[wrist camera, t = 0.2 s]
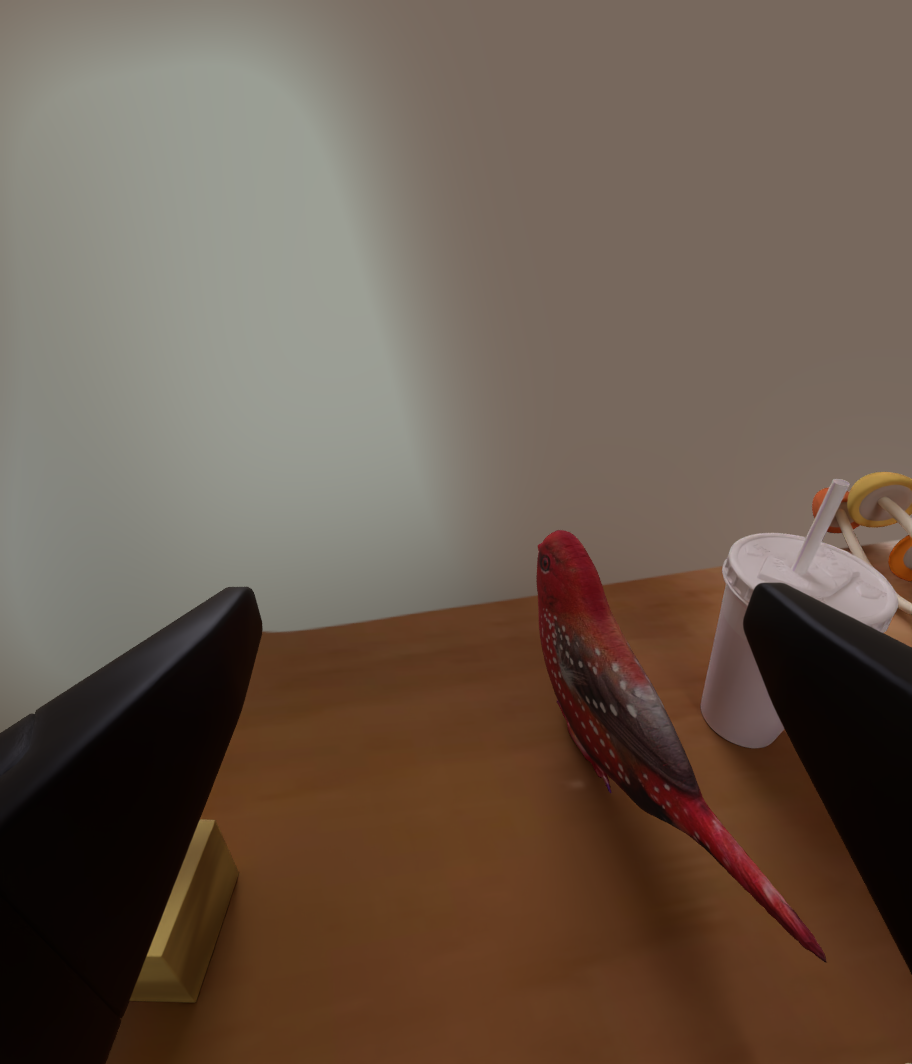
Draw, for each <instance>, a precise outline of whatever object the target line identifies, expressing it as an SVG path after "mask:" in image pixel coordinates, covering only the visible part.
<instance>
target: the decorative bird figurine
mask: <svg viewBox="0 0 912 1064" xmlns="http://www.w3.org/2000/svg"><path fill="white" fill-rule="evenodd" d="M538 550H539V553H538V561H537V591H538V607H539V630H540V639H541V644H542V650H543V654H544V659H545V663H546V667H547V671H548V674H549V677H550V680H551V683H552V686H553V689H554V692H555V694H556V697H557V699H558V701H557V703H558V705H559V707H560V709H561V711H562V713H563V716H564V717H565V719H566V721H567V726H568V731H569V733H570V735H571V737H572V739H573V740H574V742H575V743H576V745H577V746H578V747H579V749H580V750H581V752H582V754H583V756H584V757H585V759H586V760H588V761H589V762H590V763H591V764H592V766H593V768H594V770H595V772H596V773H597V775H598V777H600V778H602V777H603V780H604V781H605V784H606V786H607V788H608V791H609V792H610V793H611V790H610V785H609V780H608V777H607V775H608V776H609V777H610V778H611V779H612V780H613V781H615V782H616V783H617V784H618V785H619V787H620V788H621V789H622V790H623V791H624V792H625V793H626V794H627V795H628V796H629V797H630V798H631V799H632V800H633V801H634V802H635V803H636V804H637V805H638V806H639V807H640V808H641V809H643V810H644V811H645V812H647V813H649V814H651V815H653V816H655V817H657V818H659V819H660V820H663V821H665V822H667V823H669V824H671V825H672V826H674V827H676V828H677V829H679V830H681V831H683V832H684V833H686V834H687V835H689V836H690V837H691V838H692V839H694V840H695V841H696V842H697V843H699V844H700V845H701V846H702V847H704V848H705V849H706V850H707V851H708V852H709V853H710V854H711V855H712V856H713V857H714V858H715V859H716V860H717V861H718V862H719V863H720V864H721V865H722V866H723V867H724V868H725V869H726V870H727V872H728V873H729V874H730V875H731V876H732V877H733V878H735V879H736V880H737V881H738V882H739V884H740V885H741V886H742V887H743V888H744V889H745V890H746V891H747V892H749V893H750V894H751V895H752V896H753V897H754V899H755V900H756V901H757V902H758V903H759V904H760V905H761V906H763V907H764V908H765V909H766V911H767V912H768V913H769V914H770V915H771V916H772V917H773V918H775V919H776V920H777V921H778V922H779V923H780V924H781V925H782V926H783V927H784V929H785V930H786V931H787V932H788V933H789V934H790V935H791V936H793V937H794V938H795V939H796V940H797V941H799V943H800V944H801V945H802V946H803V947H804V948H805V949H807V950H809V951H811V952H812V953H814V954H815V955H816V956H817V957H819V958H820V959H821V960H822V961H824V962H826V957H825V954H824V952H823V950H822V948H821V947H820V945H819V944H818V943H817V941H816V939H815V937H814V936H813V934H812V933H811V932H810V930H809V929H808V928H807V927H806V925H805V924H804V923H803V922H802V921H801V919H800V918H799V917H798V915H797V914H796V912H795V911H794V910H793V909H792V908H791V907H790V906H789V905H788V903H787V902H786V901H785V899H784V898H783V896H782V895H781V894H780V893H779V892H778V891H777V890H776V889H775V888H774V887H773V885H772V884H771V883H770V881H769V880H768V878H767V877H766V876H765V875H764V874H763V873H762V872H761V871H760V869H759V868H758V867H757V865H756V864H755V863H754V862H753V861H752V860H751V859H750V858H749V856H748V855H747V854H746V852H745V851H744V850H743V848H742V847H741V846H740V845H739V844H738V843H737V842H736V840H735V839H734V838H733V836H732V835H731V834H730V833H729V832H728V831H727V830H726V829H725V827H724V826H723V825H722V824H721V822H720V821H719V820H718V818H717V817H716V816H715V814H714V813H713V812H712V811H711V810H710V808H709V807H708V805H707V804H706V802H705V801H704V799H703V797H702V794H701V791H700V789H699V786H698V784H697V781H696V778H695V776H694V773H693V770H692V767H691V765H690V763H689V760H688V758H687V756H686V753H685V751H684V749H683V747H682V744H681V742H680V740H679V738H678V736H677V733H676V731H675V729H674V727H673V725H672V723H671V721H670V719H669V717H668V715H667V713H666V711H665V709H664V707H663V704H662V702H661V700H660V698H659V696H658V695H657V693H656V691H655V689H654V687H653V686H652V684H651V682H650V680H649V679H648V677H647V675H646V673H645V672H644V670H643V668H642V666H641V665H640V663H639V661H638V660H637V658H636V656H635V655H634V653H633V651H632V650H631V648H630V646H629V644H628V642H627V641H626V639H625V637H624V635H623V633H622V632H621V630H620V628H619V626H618V624H617V622H616V620H615V618H614V616H613V614H612V612H611V610H610V607H609V605H608V602H607V599H606V596H605V593H604V590H603V587H602V584H601V581H600V578H599V575H598V572H597V570H596V568H595V566H594V564H593V562H592V560H591V559H590V557H589V555H588V553H587V551H586V550H585V548H584V547H583V545H582V544H581V542H580V541H579V540H578V539H577V538H576V537H575V536H574V535H573V534H571V533H570V532H567V531H562V530H557V531H555V532H553V533H551V534H550V535H548V536H547V537H546V538H545V539H544V541H543V542H542V543H541V544H539V545H538ZM826 963H827V962H826Z"/></svg>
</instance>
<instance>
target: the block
mask: <svg viewBox="0 0 912 1064" xmlns="http://www.w3.org/2000/svg"><path fill="white" fill-rule="evenodd" d="M238 875H239V871H238V869H237V867H236V865H235V862H234V860H233V858H232V856H231V853H230V851H229V849H228V847H227V845H226V842H225V840H224V838H223V836H222V833H221V831H220V829H219V827H218V824H217V822H216V820H199V823H198V825H197V828H196V830H195V833H194V835H193V838H192V841H191V843H190V846H189V848H188V851H187V854H186V856H185V859H184V861H183V864H182V866H181V869H180V872H179V874H178V877H177V879H176V882H175V884H174V887H173V890H172V892H171V895H170V897H169V900H168V902H167V905H166V908H165V910H164V913H163V915H162V918H161V921H160V923H159V926H158V928H157V931H156V933H155V936H154V939H153V941H152V944H151V946H150V949H149V951H148V954H147V957H146V959H145V962H144V964H143V967H142V969H141V972H140V975H139V977H138V980H137V982H136V985H135V987H134V990H133V993H132V995H131V998H130V1000H129V1001H153V1002H196V1001H197V998H198V995H199V992H200V989H201V986H202V983H203V980H204V977H205V974H206V971H207V968H208V965H209V962H210V959H211V956H212V953H213V950H214V947H215V944H216V941H217V938H218V935H219V932H220V929H221V926H222V923H223V920H224V917H225V914H226V911H227V908H228V905H229V902H230V899H231V896H232V893H233V890H234V887H235V884H236V881H237V878H238Z"/></svg>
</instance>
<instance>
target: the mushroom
mask: <svg viewBox="0 0 912 1064" xmlns="http://www.w3.org/2000/svg"><path fill="white" fill-rule="evenodd" d="M828 489H829V488H825V489H822V490H820V491H819V492H818V493H817V494H816V495H815V497H814V499H813V504H812V510H813V516H814V519H815V517H816V515H817V513H818V511H819V509H820V506H821V504H822V502H823V500H824V498H825V496H826V494H827V491H828ZM911 514H912V479H911V478H909V477H906V476H904V475H901V474H897V473H890V472H877V473H872V474H869V475H866V476H864V477H862V478H861V479H859V480H858V481H857V482H856V483H855V484H854V485H853V487H852V488H851V490H850V492H848V491H846V493H845V495H844V497H843V499H842V501H841V503H840V505H839V507H838V510H837V512H836V514H835V516H834V518H833V520H832V522H831V524H830V526H829V528H828V530H827V532H830V533H843V535H844V538H845V540H846V542H847V544H848V547H849V549H850V551H851V553H852V555H854V556H856V557H858V558H860V559H862V560H863V561H865V562H866V563H868V564H869V565H871V563H870V562H869V560H868V558H867V556H866V555H865V553H864V551H863V549H862V547H861V545H860V543H859V541H858V539H857V537H856V535H855V533H854V531H853V529H855V528H856V527H858V526H859V525H861V526H866V527H884V526H888V525H892V524H895V523H897V522H898V523H899V524H900V525H901V526H902V527H903V528H904V529H905V530H906V532H907V533H908V534H909V535H908V536H906V537H905V538H903V539H902V540H900V541H899V542H898V543H897V545H896V546H895V547H894V548H893V550H892V551H891V553H890V556H889V561H888V563H889V567H890V569H891V571H892V572H893V573H894V574H895V575H896V576H898V577H899V578H901V579H904V580H907V581H912V518H911V517H910V515H911ZM871 566H872V565H871ZM872 567H873V566H872ZM896 594H897V593H896ZM897 597H898V608H899V609H900V610H902V611H904V612H906V613H908V614H910V615H912V603H910V602H909V601H907V600H905V599H904V598H902V597H901V596H900V595H898V594H897Z"/></svg>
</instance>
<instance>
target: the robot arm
mask: <svg viewBox="0 0 912 1064" xmlns="http://www.w3.org/2000/svg"><path fill="white" fill-rule="evenodd" d="M743 629H744V633H745V635H746V638H747V641H748V643H749V646H750V648H751V651H752V654H753V656H754V659H755V661H756V664H757V666H758V669H759V672H760V674H761V677H762V679H763V682H764V684H765V687H766V690H767V692H768V695H769V697H770V699H771V702H772V704H773V706H774V709H775V711H776V713H777V715H778V717H779V719H780V721H781V723H782V725H783V727H784V729H785V731H786V733H787V734H788V736H789V738H790V740H791V742H792V744H793V746H794V748H795V750H796V752H797V754H798V756H799V758H800V760H801V761H802V763H803V765H804V767H805V769H806V771H807V773H808V775H809V777H810V779H811V781H812V783H813V785H814V787H815V788H816V790H817V792H818V794H819V796H820V798H821V800H822V802H823V804H824V806H825V808H826V810H827V812H828V814H829V816H830V817H831V819H832V821H833V823H834V825H835V827H836V829H837V831H838V833H839V835H840V837H841V839H842V841H843V843H844V844H845V846H846V848H847V850H848V852H849V854H850V856H851V858H852V860H853V862H854V864H855V866H856V868H857V870H858V871H859V873H860V875H861V877H862V879H863V881H864V883H865V885H866V887H867V889H868V891H869V893H870V895H871V897H872V899H873V900H874V902H875V904H876V906H877V908H878V910H879V912H880V914H881V916H882V918H883V920H884V922H885V924H886V926H887V927H888V929H889V931H890V933H891V935H892V937H893V939H894V941H895V943H896V945H897V947H898V949H899V951H900V953H901V954H902V956H903V958H904V960H905V962H906V964H907V966H908V968H909V970H910V972H911V974H912V648H911V647H909V646H907V645H905V644H903V643H902V642H900V641H898V640H896V639H894V638H892V637H890V636H888V635H886V634H884V633H882V632H880V631H878V630H876V629H874V628H872V627H870V626H868V625H866V624H864V623H862V622H860V621H858V620H856V619H854V618H852V617H850V616H848V615H846V614H844V613H842V612H840V611H838V610H836V609H834V608H832V607H830V606H828V605H827V604H825V603H823V602H821V601H819V600H817V599H815V598H813V597H811V596H809V595H807V594H805V593H803V592H801V591H799V590H797V589H795V588H793V587H791V586H789V585H787V584H785V583H760V584H758V585H756V587H755V588H754V590H753V593H752V595H751V598H750V601H749V604H748V606H747V609H746V612H745V615H744V618H743ZM261 636H262V620H261V616H260V613H259V609H258V605H257V602H256V598H255V595H254V592H253V591H252V589H250V588H249V587H228V588H225V589H224V590H222V591H220V592H219V593H217V594H216V595H214V596H213V597H211V598H210V599H208V600H206V601H205V602H204V603H202V604H200V605H199V606H197V607H196V608H194V609H193V610H191V611H189V612H188V613H186V614H185V615H183V616H182V617H180V618H179V619H177V620H176V621H174V622H172V623H171V624H169V625H168V626H166V627H165V628H163V629H161V630H160V631H158V632H157V633H155V634H154V635H152V636H151V637H149V638H147V639H146V640H144V641H143V642H141V643H140V644H138V645H137V646H135V647H133V648H132V649H130V650H129V651H127V652H126V653H124V654H123V655H121V656H119V657H118V658H116V659H115V660H113V661H112V662H110V663H109V664H107V665H106V666H104V667H102V668H101V669H99V670H98V671H96V672H95V673H93V674H92V675H90V676H89V677H87V678H85V679H84V680H83V681H81V682H79V683H78V684H76V685H74V686H73V687H71V688H70V689H68V690H67V691H65V692H64V693H62V694H60V695H59V696H57V697H56V698H54V699H53V700H51V701H50V702H48V703H47V704H45V705H43V706H42V707H40V708H39V709H38V710H36V712H35V714H29V715H28V716H26V717H24V718H23V719H21V720H20V721H18V722H17V723H15V724H14V725H12V726H11V727H9V728H8V729H6V730H5V731H3V732H1V733H0V1064H105V1063H106V1061H107V1058H108V1056H109V1053H110V1050H111V1048H112V1045H113V1043H114V1040H115V1038H116V1035H117V1032H118V1030H119V1027H120V1025H121V1019H120V1018H122V1017H123V1015H124V1013H125V1011H126V1008H127V1006H128V1003H129V1000H130V998H131V995H132V993H133V990H134V987H135V985H136V982H137V980H138V977H139V975H140V972H141V969H142V967H143V964H144V962H145V959H146V957H147V954H148V951H149V949H150V946H151V944H152V941H153V939H154V936H155V933H156V931H157V928H158V926H159V923H160V921H161V918H162V915H163V913H164V910H165V908H166V905H167V902H168V900H169V897H170V895H171V892H172V890H173V887H174V884H175V882H176V879H177V877H178V874H179V872H180V869H181V866H182V864H183V861H184V859H185V856H186V854H187V851H188V848H189V846H190V843H191V841H192V838H193V835H194V833H195V830H196V828H197V825H198V823H199V820H200V817H201V815H202V812H203V810H204V807H205V805H206V802H207V799H208V797H209V794H210V792H211V789H212V787H213V784H214V781H215V779H216V776H217V774H218V771H219V768H220V766H221V763H222V761H223V758H224V756H225V753H226V750H227V748H228V745H229V743H230V740H231V738H232V735H233V732H234V730H235V727H236V725H237V722H238V719H239V716H240V714H241V711H242V708H243V704H244V701H245V697H246V693H247V690H248V686H249V682H250V678H251V674H252V670H253V667H254V663H255V659H256V655H257V651H258V647H259V643H260V640H261Z"/></svg>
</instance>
